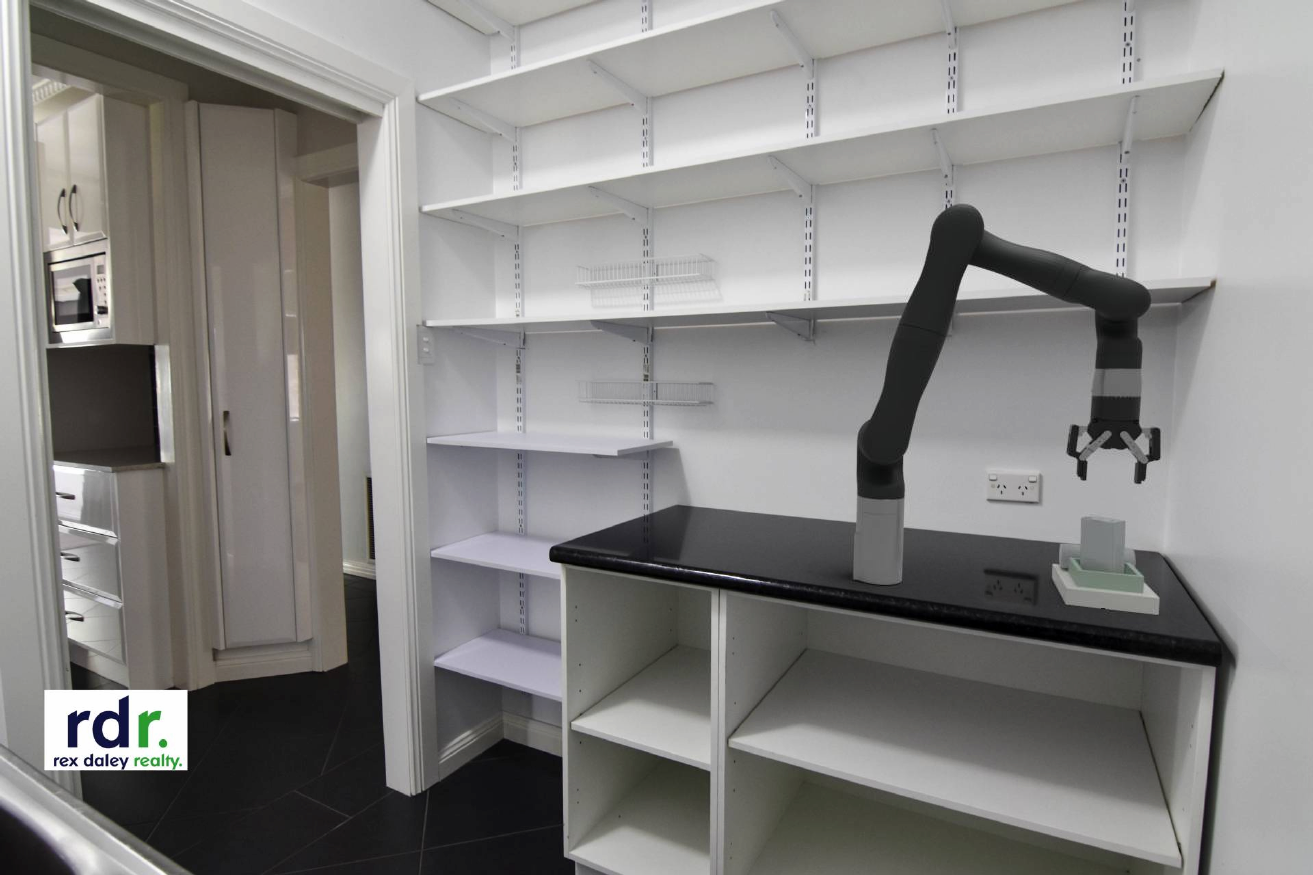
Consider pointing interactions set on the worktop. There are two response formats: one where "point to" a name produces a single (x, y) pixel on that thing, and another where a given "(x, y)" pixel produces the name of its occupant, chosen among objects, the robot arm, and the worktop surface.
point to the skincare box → (1102, 544)
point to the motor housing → (1100, 597)
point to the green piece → (1107, 578)
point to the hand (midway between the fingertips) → (1110, 481)
